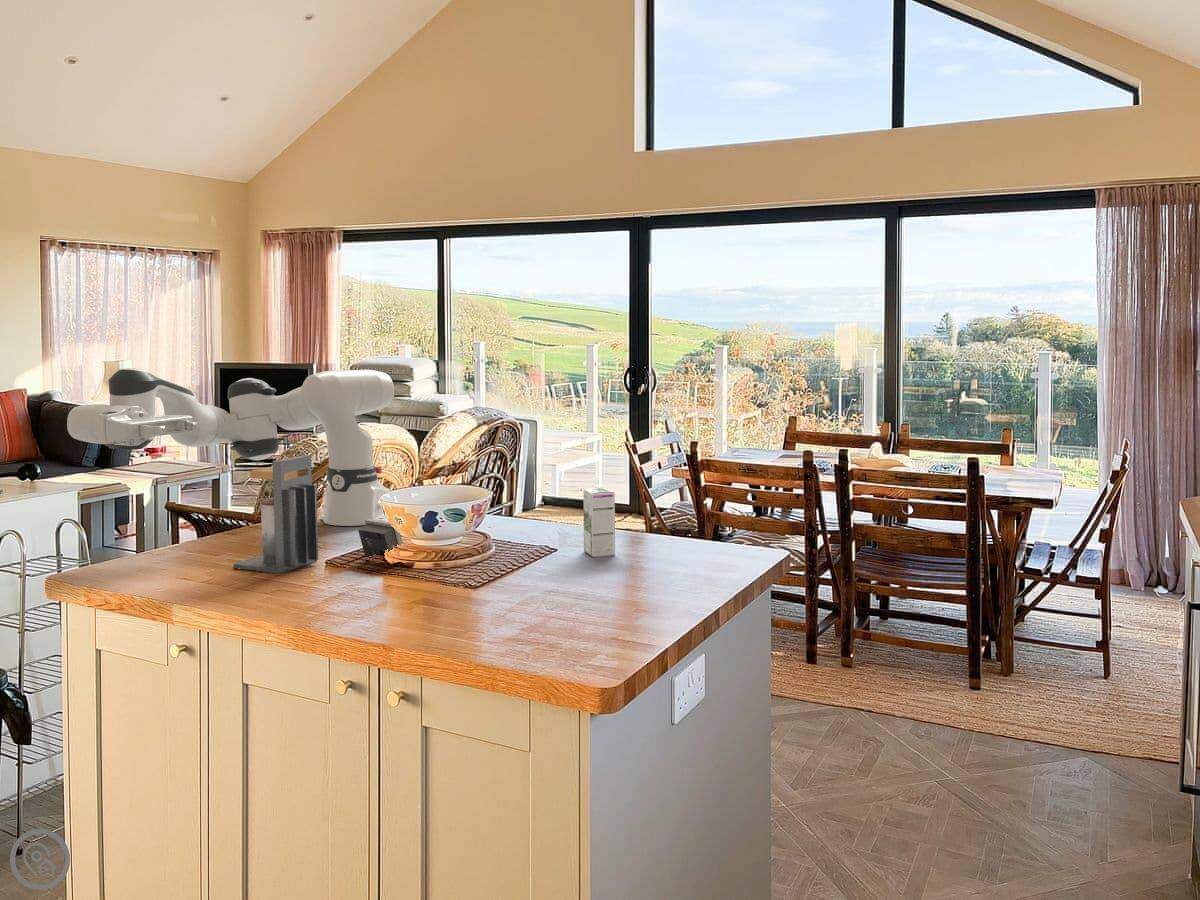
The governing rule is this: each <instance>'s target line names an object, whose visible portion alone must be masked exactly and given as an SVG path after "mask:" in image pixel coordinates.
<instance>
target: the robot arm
mask: <svg viewBox="0 0 1200 900" xmlns="http://www.w3.org/2000/svg"><path fill="white" fill-rule="evenodd" d="M108 393H109V404H102V403H101V404H100V403H99V404H98V403H96V404H84V405H83V404H82V405H78V406H75V407H73V408H72V409H71V410H70V411H69V413H68V415H67V419H66V421H67V423H66V428H67V432H68V434H69V435H70V437H71V438H73V439H75V440H78V441H81V442H86V443H89V444H90V443H91V444H99V445H100V444H101V445H104V446H106V447H108V448H109V449H113V450H116V449H117V450H129V451H130V450H131V451H134V450H142V449H144V448H146V447H148V445H149V444H151V443H152V441H154V437H159V436H160V437H161V436H169V435H170V437H171V438H172V439H173V440H174V441H175V442H176V443H178V444H180V445H182V446H186V447H195V448H203V447H210V446H216V445H218V444H219V445H220V444H222V443H230V444H231V445H232V446H230V447H229V449H230V450H231V451H235V452H236V453H237V454H238V455H239V456H240V457H241V458H244V459H246V460H252V461H261V460H266V459H268V458H270V457H271V456H273V455H276V454H277V452H278V451H279V449H280V448H279V447H280V439H279V438H278V428H277V425H278V426H279V427H280V428H281V429H283V430H287V431H303V430H306V429H310V428H314V427H317V426H319V425H321V426H322V428H323V430H324V432H325V436H326V441H327V443H326V444H327V455H328V467H327V469H326V471H327V472H326V476H327V479H326V480H327V482H328V484H327V486H326V488H325V491H324V505H323V513H322V514H320V520H322V521H323V523H324V524H326V525H329V526H330V525H332V526H338V527H340V526H343V527H345V526H346V527H353V526H354V527H355V526H357V527H358V526H364V525H365V520H368V519H371V520H377V521H384V522H386V519H385V517H384V515H383V512H382V509H381V506H380V504H379V503H378V501H379V499H380V497H381V496H382V495H383V494H384V493H387V492H391V491H390V490H389V489H388V488H387V487H386V486H384V485H383V484H382V483H381V482H380V481H379V480H378V479H379V478H378V474H379V475H381V474H382V473H383V471H384V468H383V466H382V465H379V466H378V465H375V466H374V453H373V452H374V451H373V450H374V449H373V448H374V445H373V438H372V435H371V434H370V433H369V432H368V431H366V430H365V429H364V428H361V427H360V426H359V424H358V422H357V419H356V417H357V416H360V415H363V414H364V415H365V414H368V413H371V412H376V411H379V410H382V409H385V408H387V407H388V406H390V405H391V404H392V402H393V400H394V396H395V385H394V382H393V380H392V378H391V377H390V375H389V374H388V373H386V372H382V371H379V370H374V369H345V370H344V369H339V370H324V371H320V372H317V373H313V374H310V375H308V376H306V378H305V380H304V381H303V383H302V385H301V386H300V387H297V388H294V389H292V390H290V391H288V392H286V393H285V394H282V395H275V393H277V389H276V388H275V387H271V386H270V385H269V384H268V383H267V382H265V381H263V380H262V379H259V378H258V379H257V378H253V377H246V378H241V379H239V380H237V381H235V382H233V383H231V384H230V385H229V386H228V388H227V400H228V403H229V406H228V407H229V412H228V411H226V410H225V409H224V408H220V407H218V406H215V405H211V404H204V403H200V402H199V400H198V399H197V398H196V396H195V394H194V393H193V391H192V390H190V389H188V388H186V387H184V386H181V385H179V384H176V383H174V382H171V381H168V380H165V379H162V378H160V377H158V376H155V375H154V374H152V373H150V372H147V371H145V370H143V369H139V368H131V367H130V368H121V369H119V370H117V371H116V372H115V373H113V375H111V376H110V378H109V379H108ZM156 398H159V399H160V401H161V403H162V407H163V412H164V415H155V414H156Z"/></svg>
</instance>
